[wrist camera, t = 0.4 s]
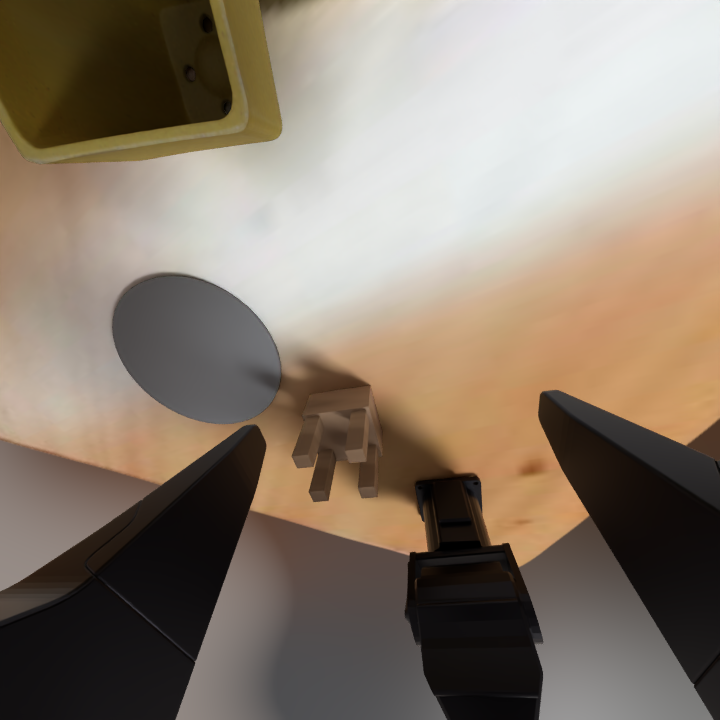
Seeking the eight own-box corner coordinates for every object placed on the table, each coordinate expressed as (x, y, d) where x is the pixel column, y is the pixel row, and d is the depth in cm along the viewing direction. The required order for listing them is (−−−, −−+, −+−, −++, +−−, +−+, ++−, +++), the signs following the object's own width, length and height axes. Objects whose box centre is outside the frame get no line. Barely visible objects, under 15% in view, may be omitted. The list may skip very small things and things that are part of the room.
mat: (303, 411, 27) (301, 414, 26) (173, 428, 29) (171, 431, 29) (239, 256, 20) (236, 257, 20) (79, 296, 23) (74, 298, 22)
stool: (382, 431, 27) (381, 498, 21) (327, 438, 28) (311, 504, 22) (370, 384, 25) (365, 445, 19) (310, 393, 26) (287, 454, 20)
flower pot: (177, 178, 18) (19, 165, 10) (102, -35, 14) (-263, -331, 6) (313, 159, 17) (252, 129, 9) (277, -78, 13) (107, -505, 5)
